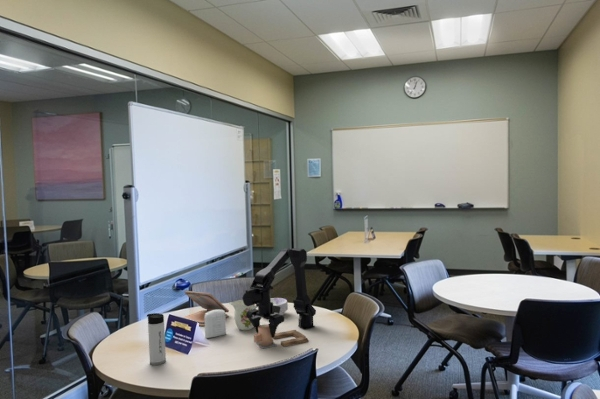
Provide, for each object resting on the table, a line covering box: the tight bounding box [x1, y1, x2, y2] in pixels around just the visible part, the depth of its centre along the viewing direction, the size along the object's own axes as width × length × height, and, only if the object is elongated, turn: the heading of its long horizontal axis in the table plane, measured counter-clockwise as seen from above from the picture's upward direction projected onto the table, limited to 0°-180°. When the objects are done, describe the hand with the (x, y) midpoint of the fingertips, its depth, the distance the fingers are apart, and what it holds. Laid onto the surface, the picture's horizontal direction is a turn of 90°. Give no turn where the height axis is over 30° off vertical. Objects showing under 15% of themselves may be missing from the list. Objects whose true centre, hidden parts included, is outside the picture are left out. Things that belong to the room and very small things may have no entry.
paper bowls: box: [270, 297, 289, 316], centre depth 235 cm, size 15×15×8 cm
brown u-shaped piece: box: [273, 329, 309, 348], centre depth 198 cm, size 12×14×2 cm
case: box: [183, 290, 230, 327], centre depth 234 cm, size 20×21×16 cm
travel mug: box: [146, 312, 167, 366], centre depth 177 cm, size 6×7×20 cm
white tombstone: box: [204, 310, 227, 339], centre depth 206 cm, size 10×4×12 cm, turn 123°
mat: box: [255, 341, 277, 350], centre depth 193 cm, size 7×9×1 cm
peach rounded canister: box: [253, 323, 274, 346], centre depth 192 cm, size 10×7×8 cm
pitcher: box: [228, 299, 263, 331], centre depth 216 cm, size 11×18×14 cm, turn 115°
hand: (265, 335), depth 193 cm, fingers open, 9 cm apart
